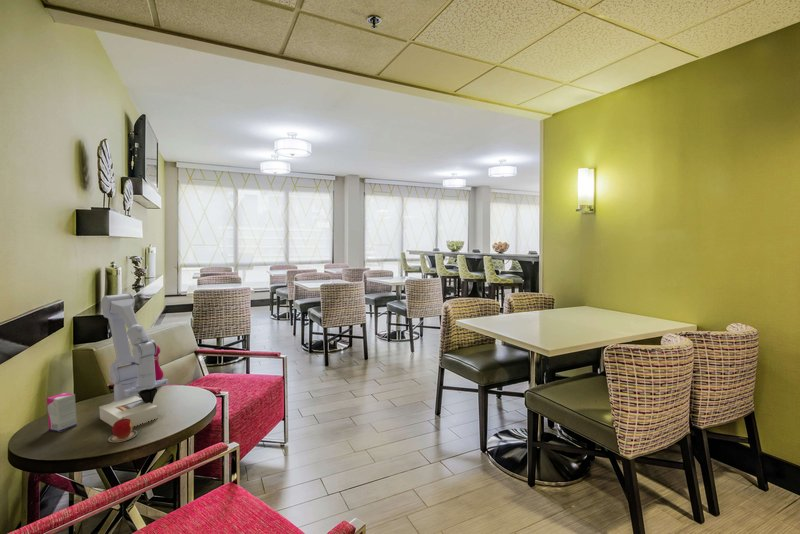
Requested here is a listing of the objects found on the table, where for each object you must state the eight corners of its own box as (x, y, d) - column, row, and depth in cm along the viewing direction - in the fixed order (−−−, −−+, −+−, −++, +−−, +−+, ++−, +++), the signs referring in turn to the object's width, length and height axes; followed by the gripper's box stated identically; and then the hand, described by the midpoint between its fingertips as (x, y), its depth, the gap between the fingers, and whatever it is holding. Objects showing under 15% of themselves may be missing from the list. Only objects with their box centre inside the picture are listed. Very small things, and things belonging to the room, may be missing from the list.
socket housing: (100, 418, 147) (99, 406, 147) (136, 407, 157) (135, 395, 156) (120, 431, 137) (119, 418, 136) (158, 418, 146) (157, 406, 146)
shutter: (119, 418, 147) (118, 407, 146) (122, 416, 147) (122, 406, 147) (125, 421, 144) (125, 410, 143) (129, 420, 144) (128, 409, 144)
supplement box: (77, 424, 142) (75, 393, 142) (59, 432, 137) (56, 400, 136) (66, 422, 144) (64, 391, 143) (47, 430, 139) (45, 398, 138)
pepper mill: (167, 384, 181) (164, 341, 180) (150, 389, 175) (147, 344, 173) (158, 381, 185) (156, 339, 183) (142, 386, 179) (139, 342, 177)
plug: (123, 418, 147) (122, 406, 147) (141, 411, 152) (141, 400, 152) (128, 421, 145) (127, 409, 144) (147, 414, 150) (146, 403, 149)
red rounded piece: (130, 429, 138) (128, 411, 138) (142, 435, 134) (141, 416, 134) (103, 439, 131) (102, 420, 131) (115, 446, 127) (114, 426, 127)
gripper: (129, 381, 143) (131, 418, 144) (171, 369, 155) (173, 403, 156) (120, 377, 147) (123, 413, 148) (162, 366, 159) (164, 399, 160)
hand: (148, 408), depth 152 cm, fingers closed
